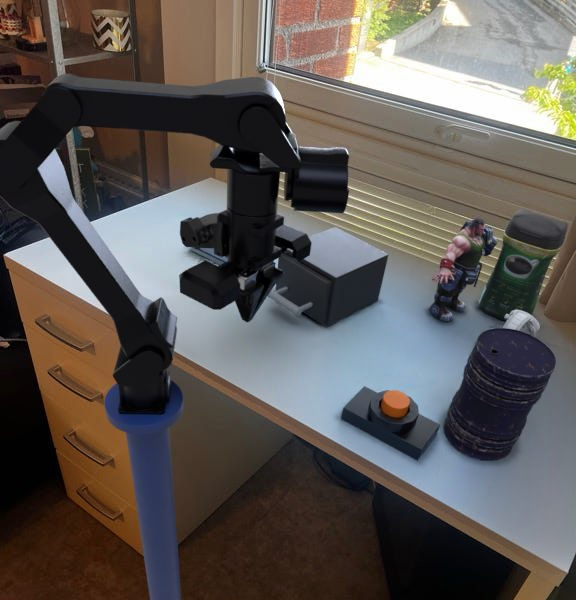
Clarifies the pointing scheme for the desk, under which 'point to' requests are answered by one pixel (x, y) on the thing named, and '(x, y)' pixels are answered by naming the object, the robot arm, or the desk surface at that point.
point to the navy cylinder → (497, 393)
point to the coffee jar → (522, 263)
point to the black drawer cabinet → (346, 271)
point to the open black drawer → (302, 289)
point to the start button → (395, 403)
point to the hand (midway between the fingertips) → (246, 320)
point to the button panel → (390, 423)
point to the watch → (521, 322)
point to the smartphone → (210, 255)
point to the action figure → (461, 267)
